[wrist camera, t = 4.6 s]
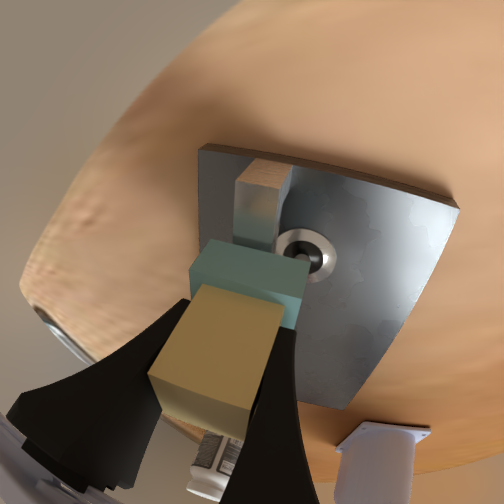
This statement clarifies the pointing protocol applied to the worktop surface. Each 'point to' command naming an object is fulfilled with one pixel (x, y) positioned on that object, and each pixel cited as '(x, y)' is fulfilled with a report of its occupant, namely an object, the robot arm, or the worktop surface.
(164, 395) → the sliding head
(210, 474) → the pill bottle
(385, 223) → the hole plate
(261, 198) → the rail
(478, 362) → the worktop surface
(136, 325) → the worktop surface
